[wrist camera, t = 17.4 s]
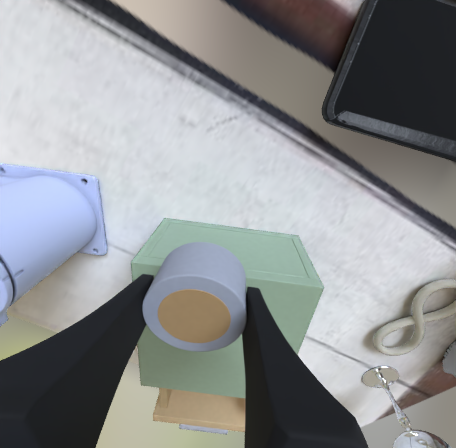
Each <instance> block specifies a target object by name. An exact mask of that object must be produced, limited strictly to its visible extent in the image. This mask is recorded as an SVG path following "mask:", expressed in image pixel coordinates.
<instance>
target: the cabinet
mask: <svg viewBox="0 0 456 448" xmlns="http://www.w3.org/2000/svg"><path fill="white" fill-rule="evenodd" d="M193 242H207V243H213V244H216V245H219V246H221V247H223V248H225V249H227V250H229V251H230V252H231V253H233V254H234V255H235V256H236V257H237V258H238V260H239V261H240V262H241V264H242V266H243V268H244V271H245V275H246V292H247V287H255V288H259V289H260V291H261V293H262V296H263V298H264V300H265V303H266V305H267V307H268V309H269V311H270V313H271V314H272V316H273V318H274V320H275V322H276V324H277V325H278V327H279V329H280V330H281V332H282V334H283V335H284V337H285V338H286V340H287V341H288V343H289V344H290V346H291V347H292V348H293V350H294V351H295V353H296V354H298V352H299V349H300V347H301V344H302V342H303V339H304V337H305V334H306V332H307V329H308V327H309V324H310V322H311V319H312V317H313V314H314V312H315V309H316V307H317V304H318V302H319V299H320V297H321V294H322V292H323V289H324V286H323V284H322V282H321V280H320V278H319V276H318V274H317V272H316V270H315V268H314V266H313V264H312V262H311V260H310V258H309V256H308V254H307V252H306V250H305V248H304V246H303V244H302V242H301V240H300V238H299V236H297V235H289V234H282V233H274V232H266V231H259V230H251V229H244V228H236V227H229V226H221V225H213V224H206V223H198V222H191V221H183V220H176V219H168V218H164V220H163V221H162V222H161V224H160V225H159V226H158V228H157V229H156V230H155V231H154V233H153V234H152V235H151V237H150V238H149V239H148V241H147V242H146V243H145V244H144V246H143V247H142V248H141V250H140V251H139V252H138V254H137V255H136V256H135V257H134V259H133V260H132V261H131V270H132V282H133V281H134V280H135V279H137V278H138V277H139V276H140V275H142V274H149V275H154V278H155V276H156V275H157V273H158V271H159V269H160V267H161V265H162V263H163V262H164V260H165V258H166V257H167V256H168V254H169V253H170V252H172V251H173V250H174V249H176V248H177V247H179V246H182V245H184V244H188V243H193ZM137 344H138V356H139V368H140V381H141V385H143V386H151V387H159V388H167V389H175V390H182V391H190V392H198V393H206V394H214V395H222V396H230V397H238V398H245V367H244V354H243V341H242V334H241V335H240V337H239V338H238V339H237V340H236V341H234V342H233V343H231V344H230V345H228V346H226V347H224V348H221V349H218V350H213V351H206V352H196V351H188V350H183V349H180V348H177V347H174V346H172V345H169V344H167V343H166V342H164V341H162V340H161V339H160V338H158V337H157V336H156V335H155V334H154V333H153V332H152V331H151V330H150V329H149V327H148V326H147V325H146V327H145V329H144V331H143V333H142V335H141V337H140V339H139V341H138V343H137Z"/></svg>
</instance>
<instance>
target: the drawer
mask: <svg viewBox="0 0 456 448" xmlns="http://www.w3.org/2000/svg"><path fill="white" fill-rule="evenodd" d="M159 392H160V393H159V396H158V399H157V403H156V406H155V410H154V413H153V421H161V422H168V423H176V424H180V425H179V428H180V429H187V430H195V431H203V432H211V433H219V434H227V433H228V430H232V431H241V432H245V398H238V397H230V396H222V395H214V394H206V393H198V392H190V391H182V390H175V389H167V388H159Z"/></svg>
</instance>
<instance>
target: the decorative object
mask: <svg viewBox="0 0 456 448" xmlns="http://www.w3.org/2000/svg"><path fill="white" fill-rule="evenodd" d="M443 288H454V289H456V280H453V279H442V280H437V281H434V282H431V283H429V284H427V285H426V286H424V287H423V288H421V289H420V290H419V292H418V293H417V294H416V296H415V297H414V300H413V304H412V314H413V316H409V317H406V318H401V319H400V320H395V321H393V322H391V323H389V324H387V325H385V326H383V327H382V328H380V329H379V330H378V331H377V332H376V334H375V335H374V338H373V344H374V346H375V348H376V349H377V350H378V351H379V352H381V353H383V354H385V355H390V356H398V355H403V354H406V353H409V352H411V351H412V350H414V349H415V348H416V347H417V346H418V345H419V344H420V343H421V341H422V339H423V337H424V333H425V324H424V323H425V322H430V321H435V320H440V319H444V318H447V317H449V316H452V315H454V314H456V300H455V301H454V302H453V303H452V304H450V305H449V306H447V307H445V308H443V309H441V310H438V311H434V312H433V313H426V314H423V305H424V303H425V301H426V299H427V298H428V297H429V296H430V295H431V294H432V293H433V292H435V291H437V290H440V289H443ZM414 324H415V329H414V334H413V336H412V338H411V339H410V340H409V341H408V342H407V343H406V344H404V345H402V346H399V347H395V348H388V347H385V346H383V345H382V340H383V339H384V338H385V337H386V336H387V335H388V334H390V333H391V332H393V331H395V330H398V329H400V328H403V327H406V326H410V325H414Z"/></svg>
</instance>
